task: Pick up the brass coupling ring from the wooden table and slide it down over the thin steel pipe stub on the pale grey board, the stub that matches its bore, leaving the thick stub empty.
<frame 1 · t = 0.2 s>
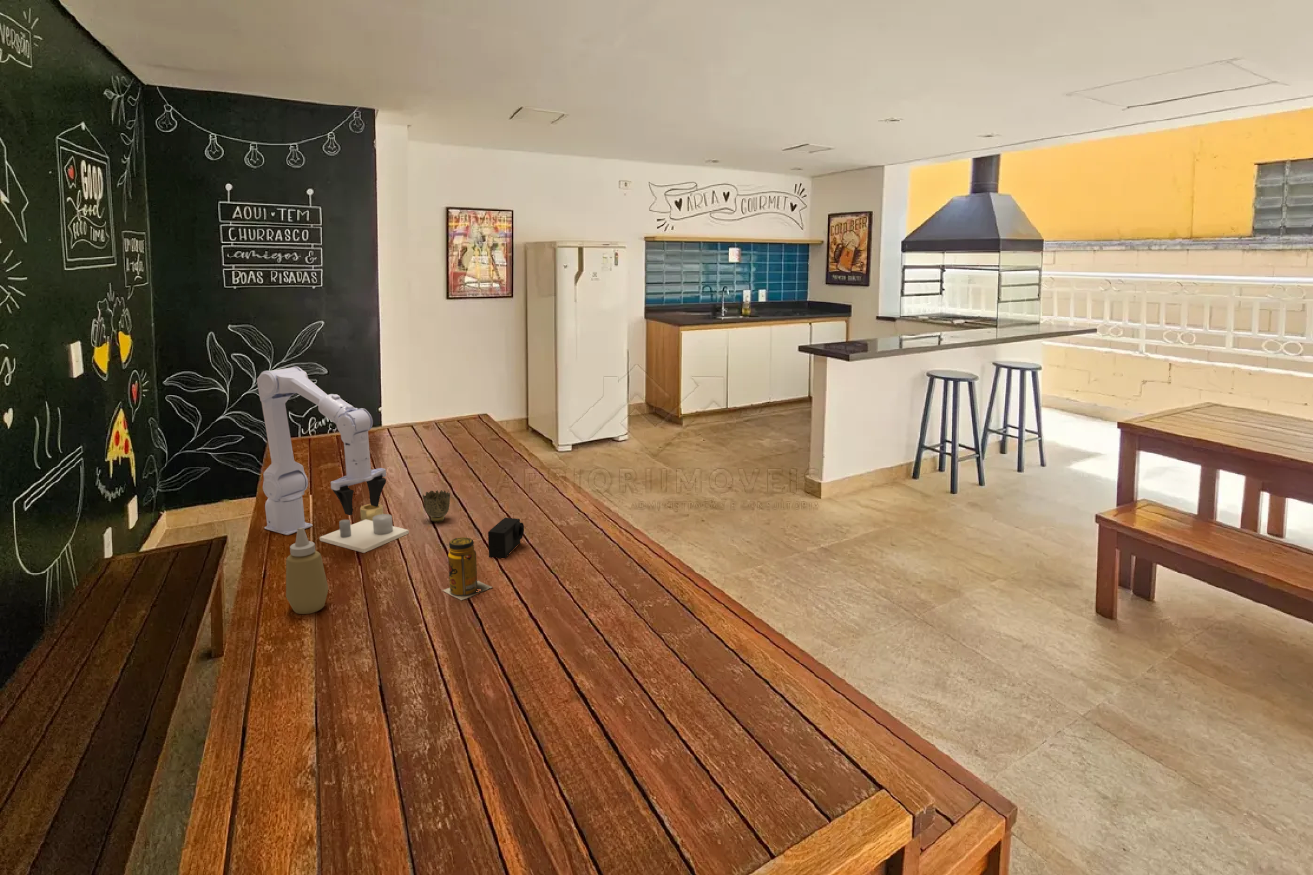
hand: (361, 509, 181), 10 cm above the table, tool pointing down, fingers open, 7 cm apart
coupling ring: (372, 517, 204), on the table
condiment: (467, 590, 161), on the table
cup: (437, 521, 202), on the table
digital camera: (507, 551, 183), on the table
stub board: (365, 537, 189), on the table
squeeze bottle: (309, 609, 151), on the table
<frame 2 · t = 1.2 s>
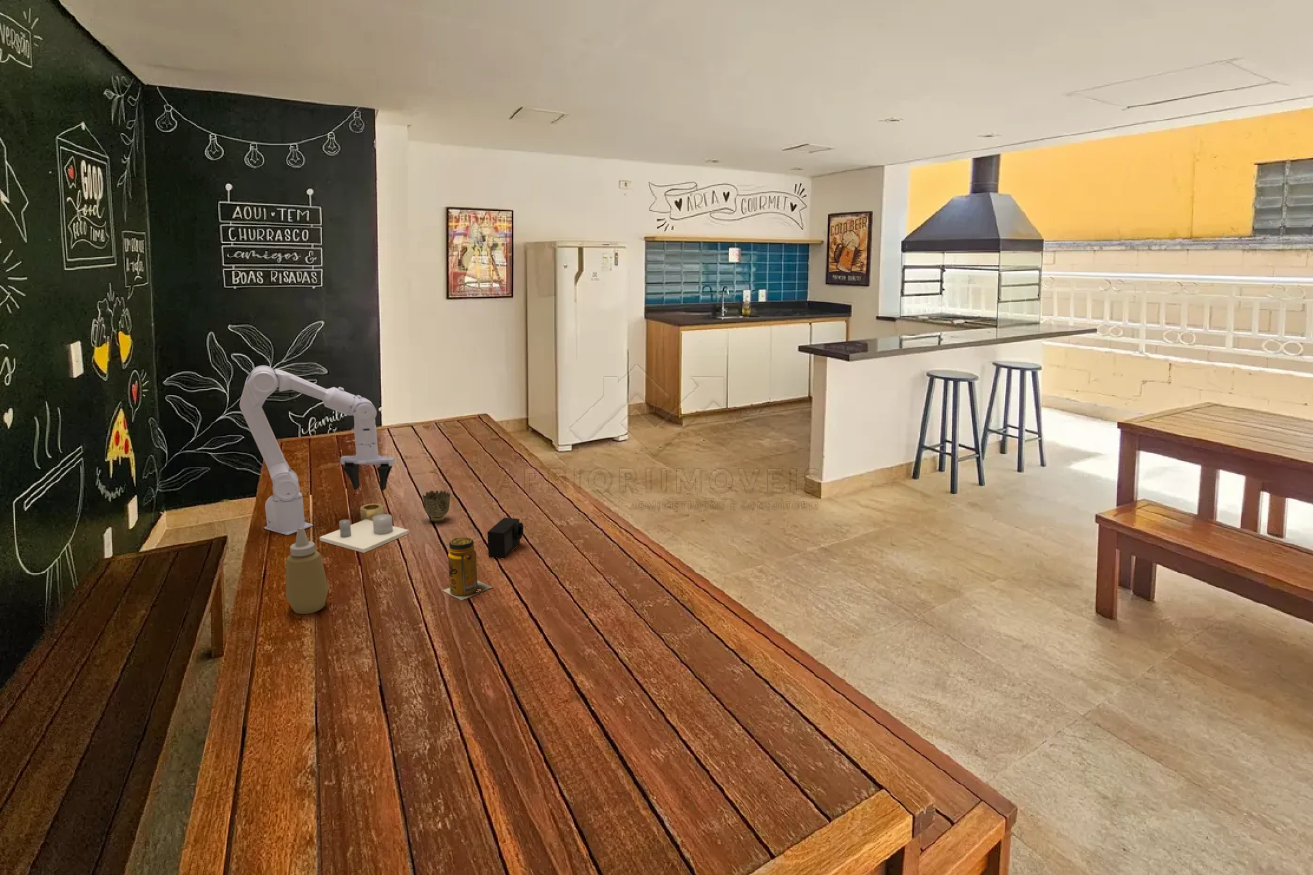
hand: (370, 489, 202), 8 cm above the table, tool pointing down, fingers open, 7 cm apart
nothing on the table moved.
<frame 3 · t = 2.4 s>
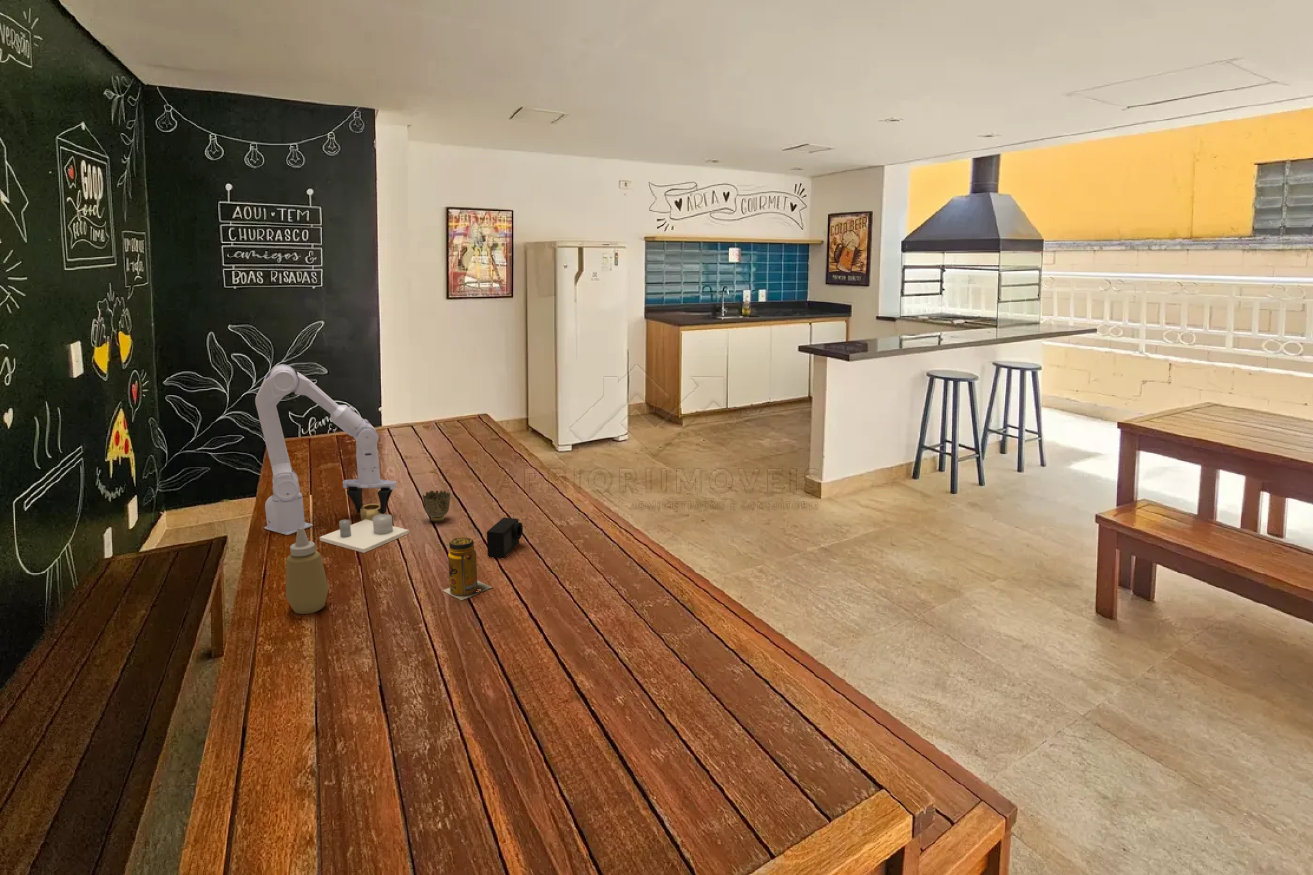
hand: (371, 512, 203), 1 cm above the table, tool pointing down, fingers closed on coupling ring, 6 cm apart
coupling ring: (372, 517, 204), on the table, touching gripper
everything else where it was.
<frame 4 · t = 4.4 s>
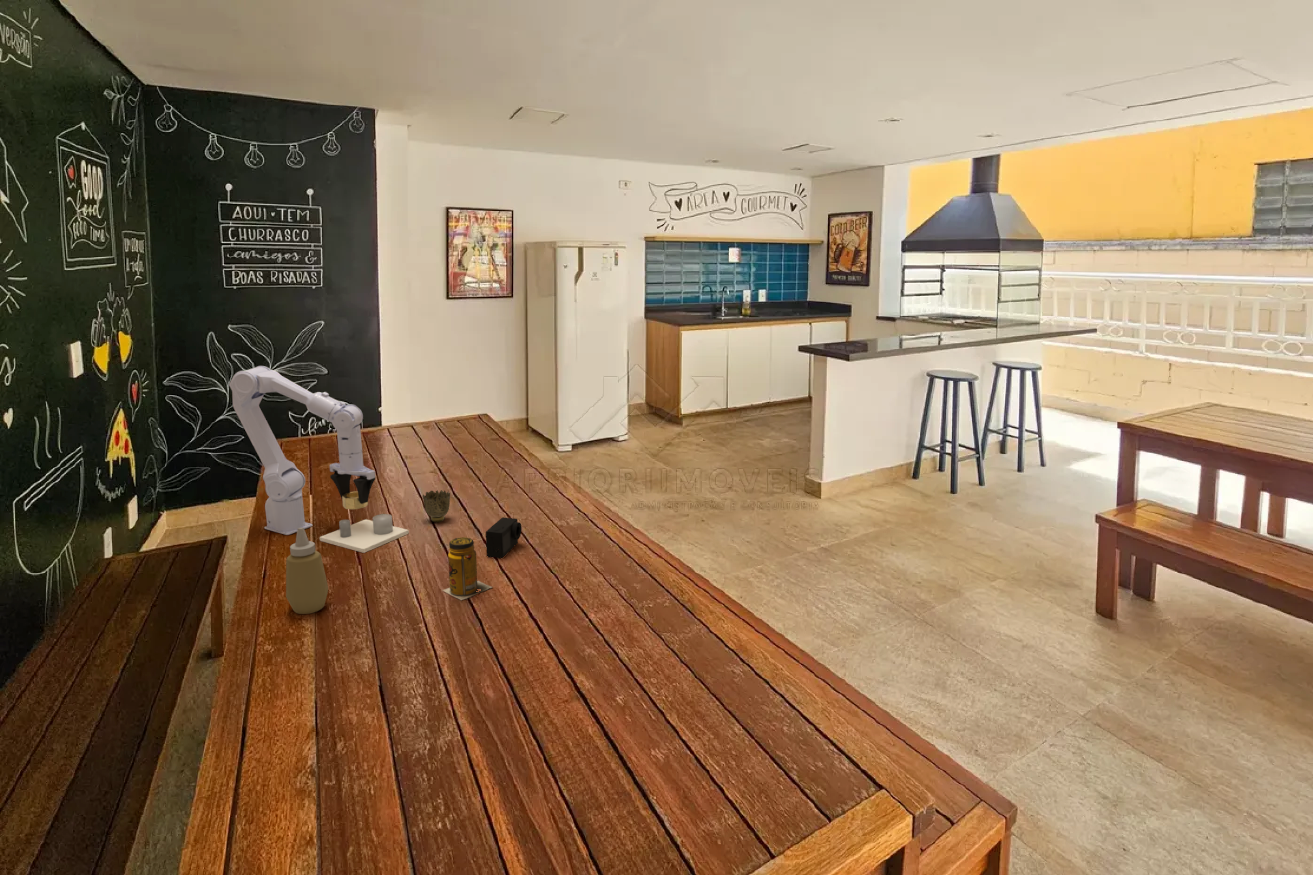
hand: (354, 500, 192), 8 cm above the table, tool pointing down, fingers closed on coupling ring, 6 cm apart
coupling ring: (355, 505, 193), point 7 cm above the table, touching gripper
everything else where it was.
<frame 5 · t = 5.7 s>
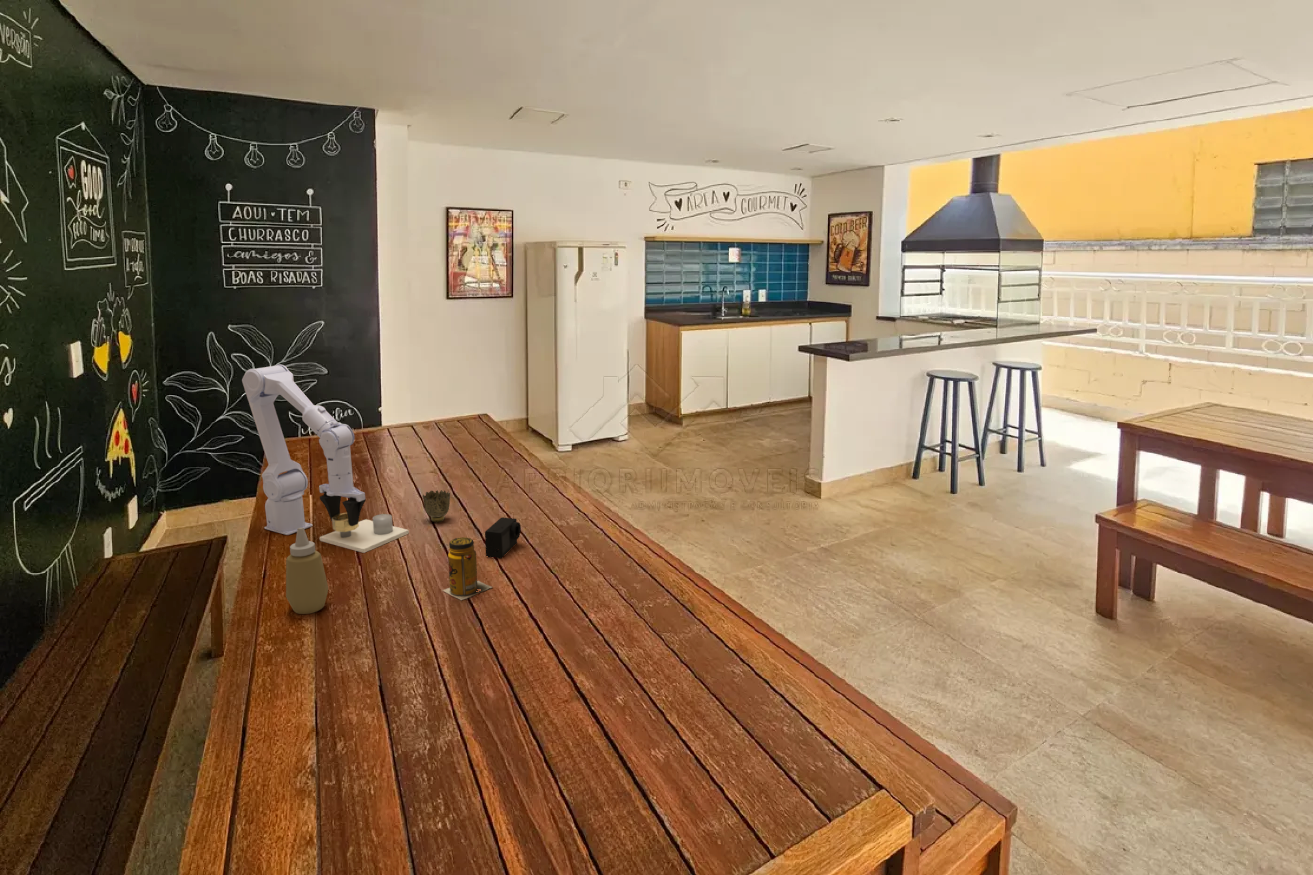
hand: (344, 522, 186), 5 cm above the table, tool pointing down, fingers closed on coupling ring, 6 cm apart
coupling ring: (345, 527, 187), point 3 cm above the table, touching gripper
everything else where it was.
when the fingers open (4 cm above the table, at t = 6.6 s): coupling ring drops 1 cm, resting on stub board.
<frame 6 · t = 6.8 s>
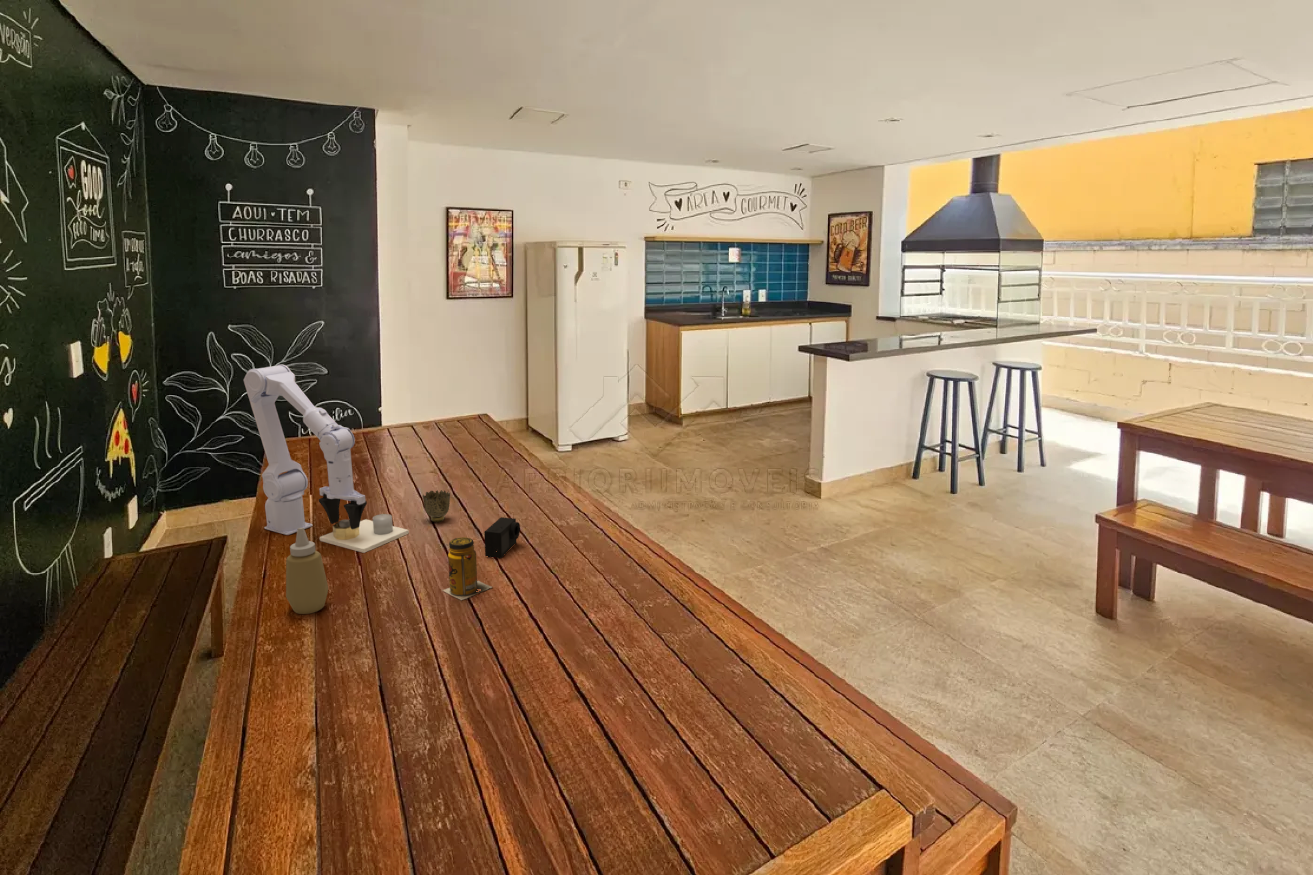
hand: (344, 525, 187), 4 cm above the table, tool pointing down, fingers open, 7 cm apart
coupling ring: (346, 535, 187), point 1 cm above the table, touching stub board
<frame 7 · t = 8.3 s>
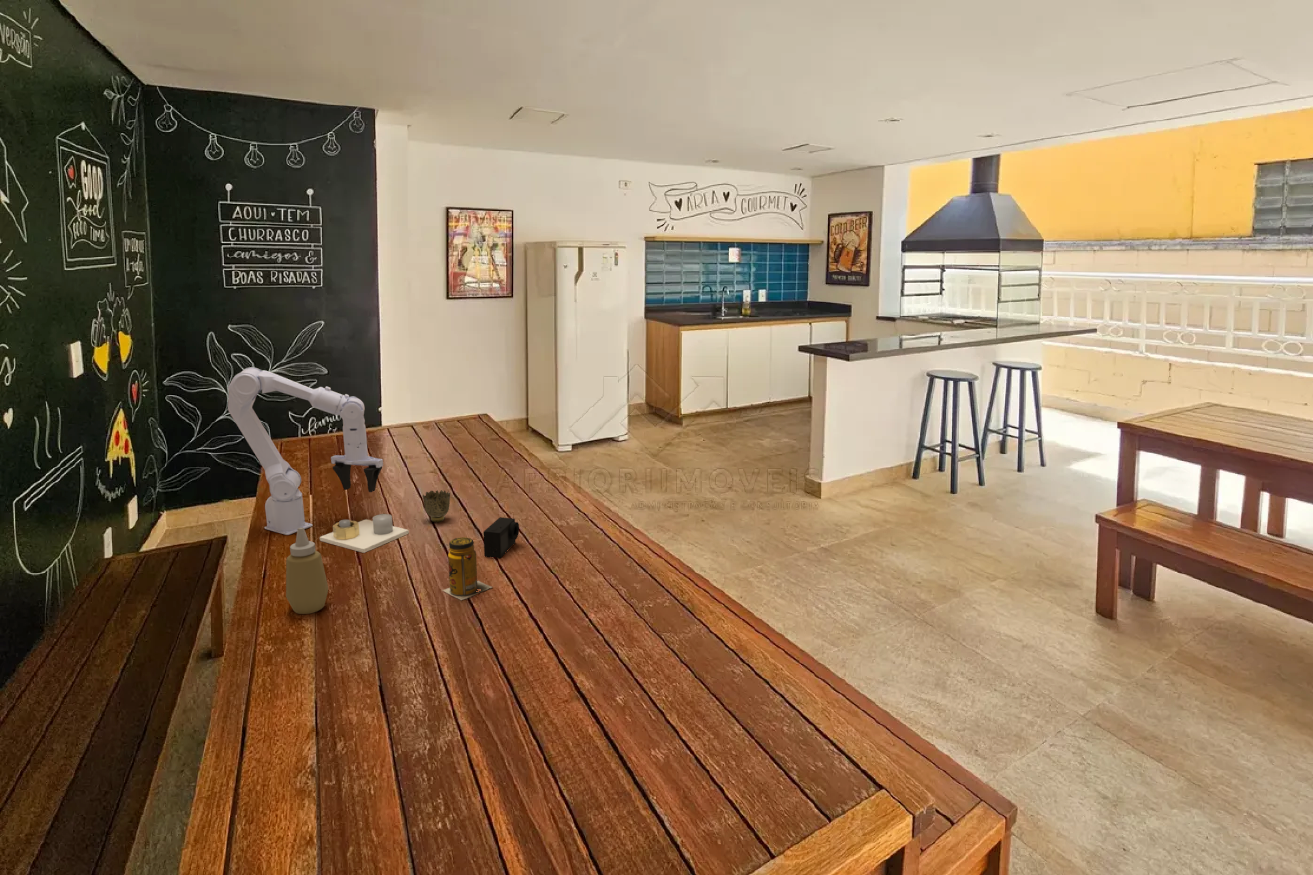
hand: (359, 490, 197), 9 cm above the table, tool pointing down, fingers open, 7 cm apart
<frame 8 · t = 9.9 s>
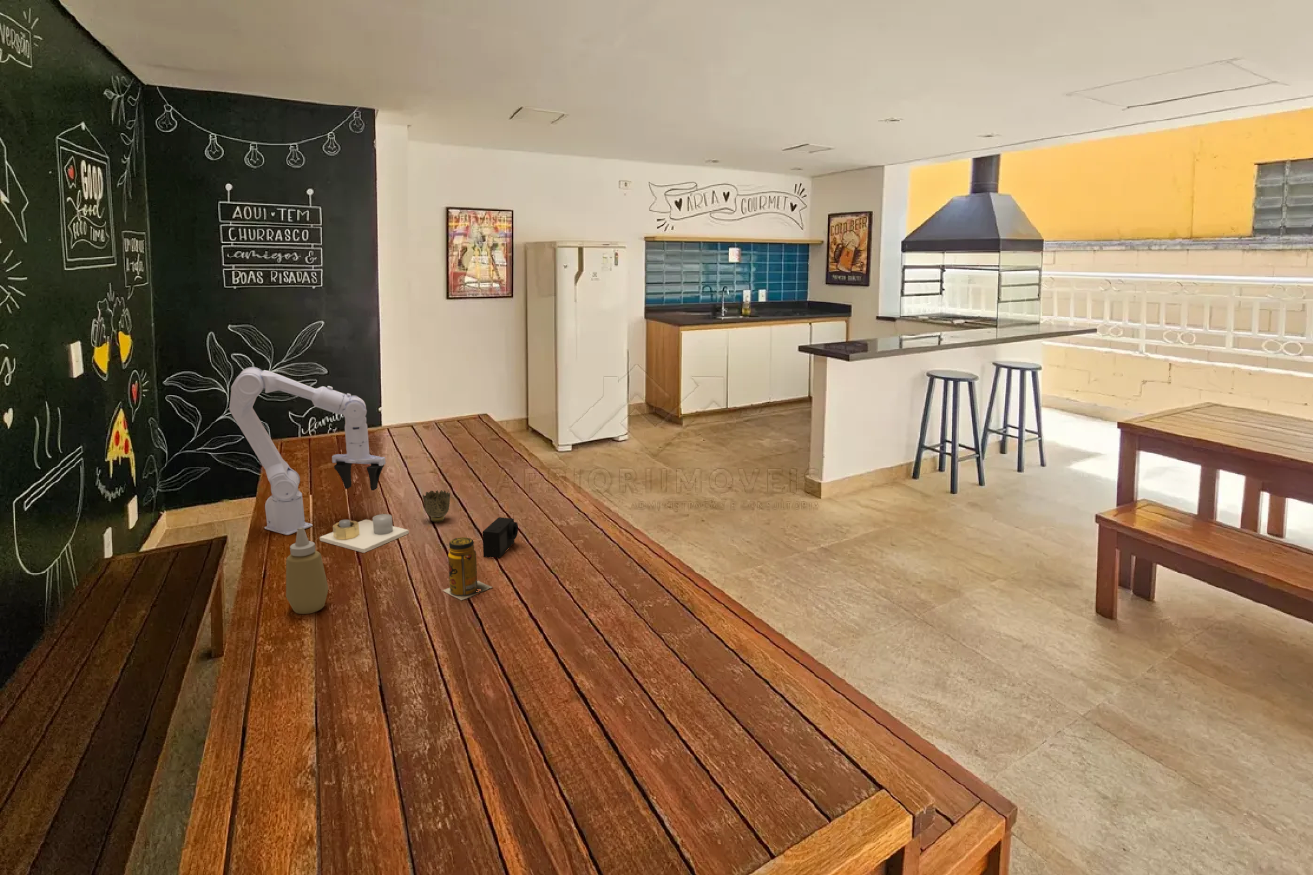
hand: (361, 488, 199), 9 cm above the table, tool pointing down, fingers open, 7 cm apart
at the end: coupling ring 0.2 cm from the target spot on the stub board, point 1.0 cm above the stub board's base; coupling ring tilted 0°; the gripper is holding nothing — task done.
